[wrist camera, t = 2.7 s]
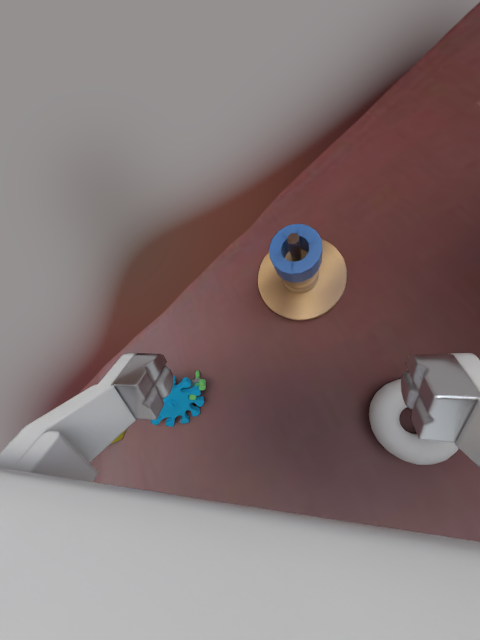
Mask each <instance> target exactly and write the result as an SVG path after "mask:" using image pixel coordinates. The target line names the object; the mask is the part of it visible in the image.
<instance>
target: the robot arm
mask: <svg viewBox="0 0 480 640" xmlns="http://www.w3.org/2000/svg"><path fill="white" fill-rule="evenodd" d="M166 362H167V361H166V359H165V357H164V355H162V354H145V353H137V354H134V353H126V354H124V355H122V356H121V357H120V358H119V360H118V361H117V362H116V363H115V365H114V366H113V367H112V368H111V369H110V371H109V372H108V373H107V374H106V375H105V377H104V378H103V379H102V380H101V381H100V383H99V384H98V385H93V386H92V387H90V388H88V389H87V390H85V391H83V392H82V393H80V394H78V395H77V396H75V397H73V398H72V399H70V400H69V401H67V402H65V403H63V404H62V405H60V406H58V407H57V408H55V409H53V410H52V411H50V412H48V413H47V414H46V415H44V416H42V417H40V418H39V419H37V420H35V421H34V422H32V423H31V424H29V425H27V426H25V427H24V428H23V429H22V430H21V431H20V432H19V433H18V435H17V436H16V437H15V438H14V439H13V440H12V441H11V442H10V443H9V444H8V445H7V446H6V447H5V448H4V449H3V450H2V451H1V452H0V640H480V542H477V541H471V540H464V539H458V538H451V537H445V536H438V535H432V534H425V533H419V532H412V531H406V530H400V529H393V528H387V527H380V526H374V525H367V524H361V523H354V522H348V521H341V520H335V519H329V518H322V517H316V516H309V515H303V514H296V513H290V512H283V511H277V510H270V509H264V508H258V507H251V506H245V505H238V504H232V503H225V502H219V501H212V500H206V499H199V498H193V497H187V496H180V495H174V494H167V493H161V492H154V491H148V490H141V489H135V488H128V487H122V486H115V485H109V484H102V483H96V482H93V481H94V479H95V478H96V476H97V470H96V469H95V468H94V467H93V466H92V465H91V464H90V462H91V461H92V460H93V459H94V458H95V457H96V456H97V455H98V454H99V453H101V452H102V451H103V450H104V449H105V448H106V447H107V446H108V445H109V444H110V443H112V442H113V441H114V440H115V439H116V438H117V437H118V436H119V435H120V434H121V433H122V432H124V431H125V430H126V429H127V428H128V427H129V426H130V425H131V424H132V423H133V422H135V421H136V419H147V420H156V419H157V418H158V416H159V414H160V412H161V410H162V408H163V406H164V401H163V399H164V398H165V397H167V396H168V395H169V394H170V392H171V390H172V387H173V381H174V380H173V374H172V372H171V370H170V369H169V368H168V367H166V366H165V365H166ZM405 365H406V367H407V369H408V370H407V371H406V372H405V373H403V374H402V378H401V393H402V397H403V400H404V403H405V405H406V406H407V407H409V408H410V409H411V410H412V411H413V412H412V415H411V421H412V423H413V426H414V428H415V430H416V433H417V435H418V438H419V439H421V440H431V441H441V442H451V443H455V445H456V446H457V447H458V448H459V449H460V450H461V451H462V452H464V453H465V454H466V455H467V456H468V457H469V458H470V459H471V460H472V461H473V462H474V463H475V464H476V465H478V466H479V467H480V360H479V359H478V357H477V356H476V355H474V354H472V353H450V354H409V355H408V356H407V358H406V362H405Z"/></svg>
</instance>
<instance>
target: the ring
mask: <svg viewBox="0 0 480 640" xmlns="http://www.w3.org/2000/svg"><path fill="white" fill-rule="evenodd" d="M291 233H296V234H298V236H299V241H300V248H301V249H304V250H305V251H307V252H308V254H307V255H306V256H305V257H304V259H302V260H300V261H296V262H292V261H288V260H286V259H285V257H286V255H287V253H288V252H289V251H290V250H289V245H288V241H287V237H288V236H289V235H290V234H291ZM322 250H323V249H322V239H321V238H320V236H319V234H318V232H316V231H315V230H314V229H313V228H311V227H310V226H308V225H303V224H294V225H289V226H286V227H285V228H283V229H281V230H279V231H278V233H277V234H276V235H275V236H274V237H273V239H272V241H271V244H270V246H269V257H270V259H271V262H272V264H273V266H274V268H275V270H276V272H277V274H278V275H279V276H280V277H281V278H283V279H284V280H285V281H289V282H292V283H297V282H304V281H306V280H308V279H310V278H312V277H313V276H314V275H315V274H316V273H317V271H318V270H319V268H320V265H321V262H322Z"/></svg>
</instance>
